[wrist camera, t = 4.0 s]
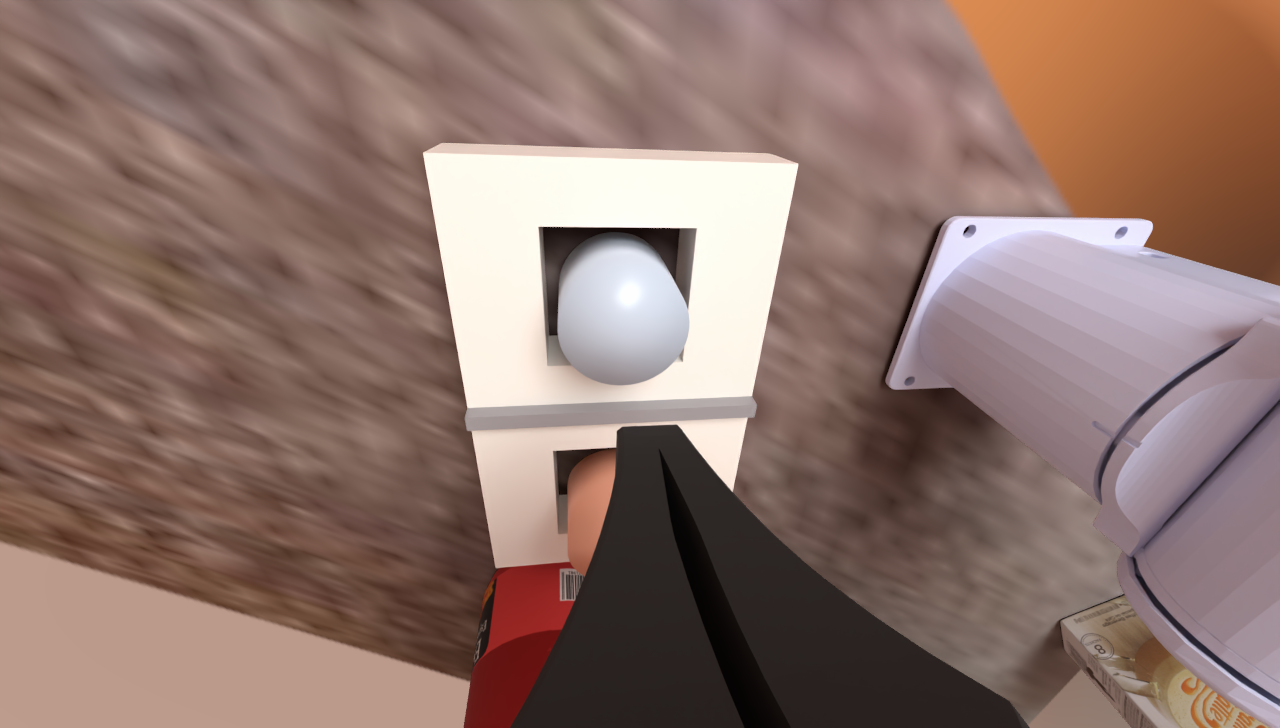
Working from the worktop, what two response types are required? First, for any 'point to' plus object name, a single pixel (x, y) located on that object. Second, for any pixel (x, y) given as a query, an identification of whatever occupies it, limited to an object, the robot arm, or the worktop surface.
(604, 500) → the orange rounded piece
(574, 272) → the pale blue rounded piece
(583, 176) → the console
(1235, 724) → the coffee box
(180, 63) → the worktop surface
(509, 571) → the canned food
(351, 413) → the worktop surface
